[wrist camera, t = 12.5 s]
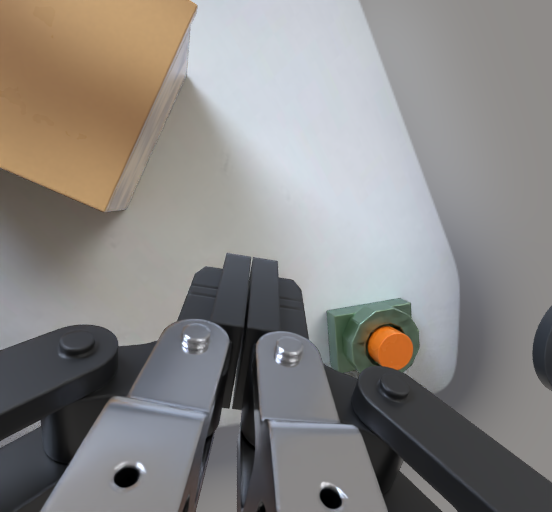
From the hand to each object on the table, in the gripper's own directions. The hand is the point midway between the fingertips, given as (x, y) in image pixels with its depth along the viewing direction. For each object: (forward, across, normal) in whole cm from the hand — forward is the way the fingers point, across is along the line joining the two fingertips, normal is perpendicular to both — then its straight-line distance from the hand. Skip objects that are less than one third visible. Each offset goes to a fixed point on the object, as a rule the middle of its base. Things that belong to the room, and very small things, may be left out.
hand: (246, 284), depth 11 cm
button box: (+18, -12, +13) cm, 25 cm away
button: (+15, -12, +12) cm, 22 cm away
